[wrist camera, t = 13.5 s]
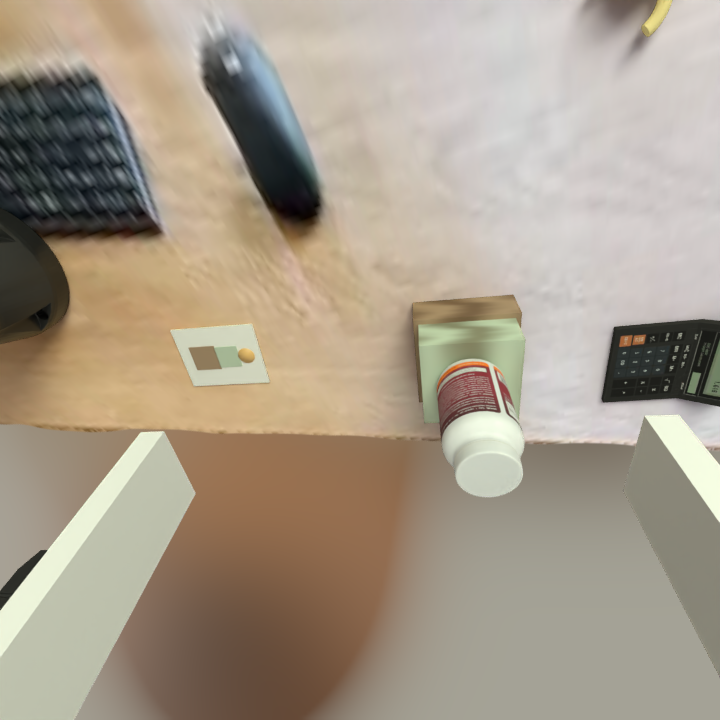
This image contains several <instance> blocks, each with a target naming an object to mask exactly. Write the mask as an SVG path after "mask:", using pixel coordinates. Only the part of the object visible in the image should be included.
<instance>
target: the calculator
mask: <svg viewBox="0 0 720 720" xmlns="http://www.w3.org/2000/svg"><path fill="white" fill-rule="evenodd" d="M668 398H679V399H684V400H689V401H694V402H699V403H704V404H709V405H714V406H719V407H720V321H715V320H705V319H699V320H688V321H676V322H665V323H653V324H641V325H630V326H618V327H614V332H613V337H612V343H611V349H610V355H609V360H608V366H607V372H606V377H605V383H604V389H603V394H602V401H603V402H618V401H635V400H651V399H668Z"/></svg>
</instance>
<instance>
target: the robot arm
mask: <svg viewBox="0 0 720 720" xmlns="http://www.w3.org/2000/svg"><path fill="white" fill-rule="evenodd" d="M68 302H69V291H68V285H67V281H66V278H65V275H64V272H63V270H62V268H61V266H60V264H59V262H58V260H57V258H56V257H55V255H54V254H53V252H52V251H51V250H50V248H49V247H48V246H47V244H46V243H45V242H44V241H43V240H42V239H41V238H40V237H39V236H38V235H37V234H36V233H35V232H34V231H33V230H32V229H31V228H30V227H29V226H27V225H26V224H25V223H24V222H22V221H21V220H20V219H18V218H17V217H15V216H14V215H12V214H10V213H9V212H7V211H5V210H3V209H1V208H0V344H3V343H7V342H12V341H16V340H20V339H24V338H29V337H32V336H35V335H38V334H40V333H42V332H44V331H45V330H47V329H48V328H50V327H51V326H53V325H54V324H56V323H57V322H58V321H60V320H61V318H62V317H63V316H64V314H65V312H66V310H67V307H68ZM623 492H624V494H625V496H626V498H627V499H628V501H629V503H630V505H631V507H632V509H633V511H634V513H635V515H636V517H637V519H638V521H639V523H640V524H641V526H642V528H643V530H644V532H645V534H646V536H647V538H648V540H649V542H650V544H651V546H652V548H653V550H654V551H655V553H656V555H657V557H658V559H659V561H660V563H661V565H662V567H663V569H664V571H665V572H666V575H667V576H668V578H669V580H670V582H671V584H672V586H673V588H674V590H675V592H676V594H677V596H678V598H679V600H680V602H681V603H682V605H683V607H684V609H685V611H686V613H687V615H688V617H689V619H690V621H691V623H692V625H693V627H694V629H695V630H696V632H697V634H698V636H699V638H700V640H701V642H702V644H703V646H704V648H705V650H706V651H707V654H708V656H709V658H710V659H711V661H712V663H713V665H714V667H715V669H716V671H717V673H718V675H719V677H720V465H719V464H718V463H717V462H716V460H715V459H714V458H713V456H712V455H711V454H710V453H709V452H708V450H707V449H706V448H705V447H704V445H703V444H702V443H701V442H700V440H699V439H698V438H697V437H696V435H695V434H694V433H693V432H692V431H691V429H690V428H689V427H688V426H687V424H686V423H685V422H684V421H683V419H682V418H681V417H680V416H679V415H658V416H644V420H643V423H642V427H641V430H640V434H639V437H638V441H637V444H636V448H635V451H634V455H633V458H632V461H631V465H630V469H629V472H628V476H627V479H626V482H625V486H624V489H623ZM194 495H195V491H194V489H193V488H192V485H191V483H190V482H189V480H188V478H187V476H186V474H185V472H184V470H183V468H182V466H181V464H180V462H179V460H178V458H177V456H176V454H175V452H174V450H173V448H172V446H171V444H170V442H169V440H168V438H167V436H166V434H165V433H164V432H141V433H140V434H139V435H138V437H137V438H136V439H135V440H134V442H133V443H132V444H131V446H130V447H129V448H128V449H127V451H126V452H125V453H124V454H123V456H122V457H121V458H120V460H119V461H118V462H117V463H116V465H115V466H114V467H113V468H112V470H111V471H110V472H109V473H108V475H107V476H106V477H105V479H104V480H103V481H102V482H101V484H100V485H99V486H98V487H97V489H96V490H95V491H94V493H93V494H92V495H91V496H90V497H89V499H88V500H87V501H86V503H85V504H84V505H83V506H82V508H81V509H80V510H79V511H78V513H77V514H76V515H75V517H74V518H73V519H72V520H71V522H70V523H69V524H68V525H67V527H66V528H65V529H64V530H63V532H62V533H61V535H60V536H59V537H58V538H57V539H56V541H55V542H54V543H53V544H52V546H51V547H50V548H49V549H48V550H41V551H39V552H38V553H37V554H36V555H35V556H33V557H32V558H31V559H30V560H29V561H27V562H26V563H25V564H24V565H23V566H22V567H20V568H19V569H18V570H17V571H16V573H15V574H14V575H13V576H12V577H11V579H10V580H9V581H8V582H7V583H6V585H5V586H4V587H3V588H2V589H1V591H0V720H74V719H75V717H76V715H77V714H78V711H79V710H80V708H81V706H82V704H83V702H84V700H85V699H86V697H87V695H88V693H89V691H90V689H91V687H92V685H93V684H94V682H95V680H96V678H97V676H98V674H99V672H100V671H101V669H102V667H103V665H104V663H105V661H106V659H107V657H108V656H109V654H110V652H111V650H112V648H113V646H114V644H115V643H116V641H117V639H118V637H119V635H120V633H121V631H122V629H123V628H124V626H125V624H126V622H127V620H128V618H129V617H130V614H131V613H132V611H133V609H134V607H135V605H136V603H137V601H138V600H139V598H140V596H141V594H142V592H143V590H144V589H145V587H146V585H147V583H148V581H149V579H150V577H151V576H152V573H153V572H154V570H155V568H156V566H157V564H158V562H159V561H160V559H161V557H162V555H163V553H164V551H165V549H166V548H167V546H168V544H169V542H170V540H171V538H172V536H173V534H174V533H175V531H176V529H177V527H178V525H179V523H180V521H181V520H182V518H183V516H184V514H185V512H186V510H187V508H188V507H189V505H190V503H191V501H192V499H193V497H194Z"/></svg>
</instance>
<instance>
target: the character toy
mask: <svg viewBox="0 0 720 720" xmlns="http://www.w3.org/2000/svg"><path fill="white" fill-rule="evenodd" d="M671 3H672V0H657V2H656V5H655V8H654V10H653V12H652V14H651V16H650V17H649V19H648V20H647V21H646V22H645V23H644V24H643V25H642V27H641V28H642V31H643V33H644V35H645V36H647V37H649V36H650V35H652V34H653V33H654V32H655V30H656V29H657V28H658V27H659V26H660V24H661V23H662V21H663V20H664V18H665V17H666V15H667V13H668V11H669V8H670V6H671Z"/></svg>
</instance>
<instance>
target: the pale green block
mask: <svg viewBox="0 0 720 720" xmlns="http://www.w3.org/2000/svg"><path fill="white" fill-rule="evenodd" d="M521 317H522V312H521V310H520V308H519V306H518V304H517V302H516V300H515V297H514V295H505V296H492V297H480V298H467V299H454V300H442V301H429V302H416V303H413V329H414V342H415V354H416V367H417V380H418V393H419V402H423V410H424V423H440V421H439V411H438V400H437V382H438V379H439V377H440V375H441V374H442V372H443V371H444V370H445V369H446V368H447V367H448V366H450V365H451V364H453V363H455V362H457V361H460V360H464V359H481V360H485V361H488V362H490V363H492V364H494V365H495V366H496V367H498V368H499V369H500V371H501V372H502V374H503V376H504V378H505V380H506V383H507V386H508V389H509V392H510V396H511V399H512V402H513V405H514V408H515V411H516V414H517V417H518V420H519V410H520V398H521V386H522V374H523V362H524V350H525V337H524V335H523V333H522V331H521Z"/></svg>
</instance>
